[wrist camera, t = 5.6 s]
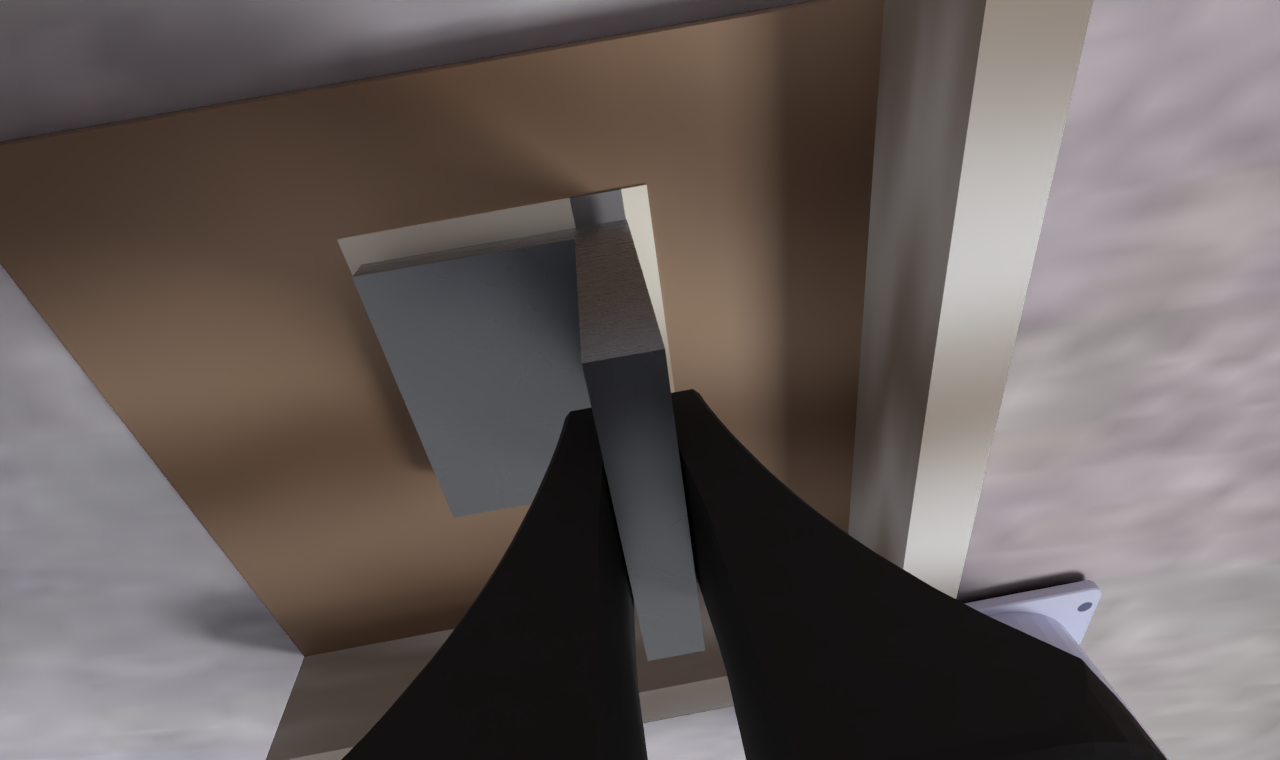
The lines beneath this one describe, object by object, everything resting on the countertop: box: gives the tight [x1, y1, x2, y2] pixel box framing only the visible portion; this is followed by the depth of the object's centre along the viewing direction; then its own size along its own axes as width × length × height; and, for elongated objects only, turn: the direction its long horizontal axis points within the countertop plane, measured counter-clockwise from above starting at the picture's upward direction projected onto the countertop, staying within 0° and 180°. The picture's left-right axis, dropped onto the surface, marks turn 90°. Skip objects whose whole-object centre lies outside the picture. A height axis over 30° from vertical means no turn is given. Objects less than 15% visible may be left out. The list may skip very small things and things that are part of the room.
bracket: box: [352, 219, 705, 661], centre depth 11 cm, size 5×6×5 cm
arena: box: [0, 0, 1093, 760], centre depth 14 cm, size 16×18×4 cm
